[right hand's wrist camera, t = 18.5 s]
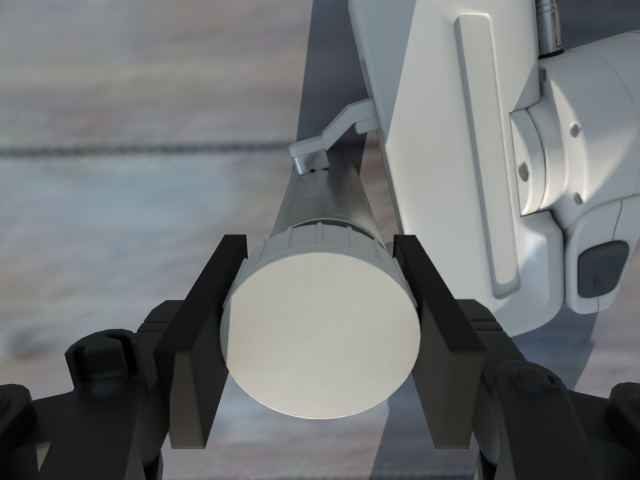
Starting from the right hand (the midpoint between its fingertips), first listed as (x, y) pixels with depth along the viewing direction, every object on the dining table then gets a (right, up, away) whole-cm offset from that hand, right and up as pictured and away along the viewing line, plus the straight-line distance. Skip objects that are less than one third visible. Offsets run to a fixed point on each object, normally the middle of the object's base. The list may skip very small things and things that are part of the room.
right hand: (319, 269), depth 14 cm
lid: (0, -2, -4) cm, 4 cm away
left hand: (-1, +3, +7) cm, 8 cm away
